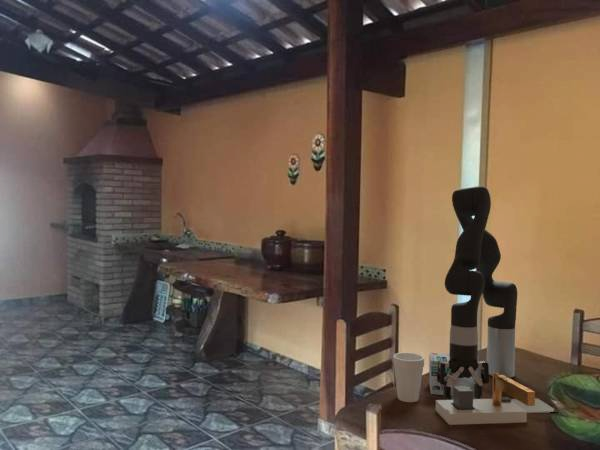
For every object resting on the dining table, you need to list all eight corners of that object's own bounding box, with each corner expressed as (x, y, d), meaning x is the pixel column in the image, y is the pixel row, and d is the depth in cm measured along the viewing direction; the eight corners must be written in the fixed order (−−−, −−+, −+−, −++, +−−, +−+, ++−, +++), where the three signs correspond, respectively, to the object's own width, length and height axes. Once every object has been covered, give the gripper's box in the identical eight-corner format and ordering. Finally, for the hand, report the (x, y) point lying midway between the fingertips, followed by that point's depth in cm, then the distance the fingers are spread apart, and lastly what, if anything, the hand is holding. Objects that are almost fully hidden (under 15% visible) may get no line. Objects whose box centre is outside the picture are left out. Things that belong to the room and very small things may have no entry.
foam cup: (405, 406, 147) (406, 362, 147) (386, 396, 155) (387, 354, 155) (430, 400, 152) (430, 358, 151) (410, 391, 160) (410, 351, 160)
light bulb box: (452, 396, 156) (452, 362, 156) (430, 394, 157) (430, 360, 157) (449, 385, 166) (449, 353, 166) (428, 383, 168) (428, 351, 167)
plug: (453, 414, 141) (453, 386, 141) (466, 413, 142) (467, 386, 142) (458, 419, 137) (459, 391, 137) (472, 419, 138) (473, 391, 138)
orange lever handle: (526, 426, 126) (527, 392, 125) (490, 403, 141) (491, 372, 141) (535, 426, 126) (535, 391, 126) (498, 402, 142) (498, 372, 142)
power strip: (435, 410, 144) (435, 397, 144) (507, 408, 146) (508, 395, 146) (449, 424, 134) (449, 410, 134) (526, 422, 136) (526, 408, 136)
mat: (507, 400, 152) (507, 399, 152) (537, 399, 153) (537, 398, 153) (524, 413, 142) (524, 412, 142) (557, 412, 143) (557, 411, 143)
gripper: (481, 337, 144) (480, 393, 144) (434, 338, 142) (433, 394, 142) (494, 344, 136) (493, 403, 136) (444, 344, 135) (443, 404, 135)
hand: (462, 398), depth 139 cm, fingers open, 8 cm apart
